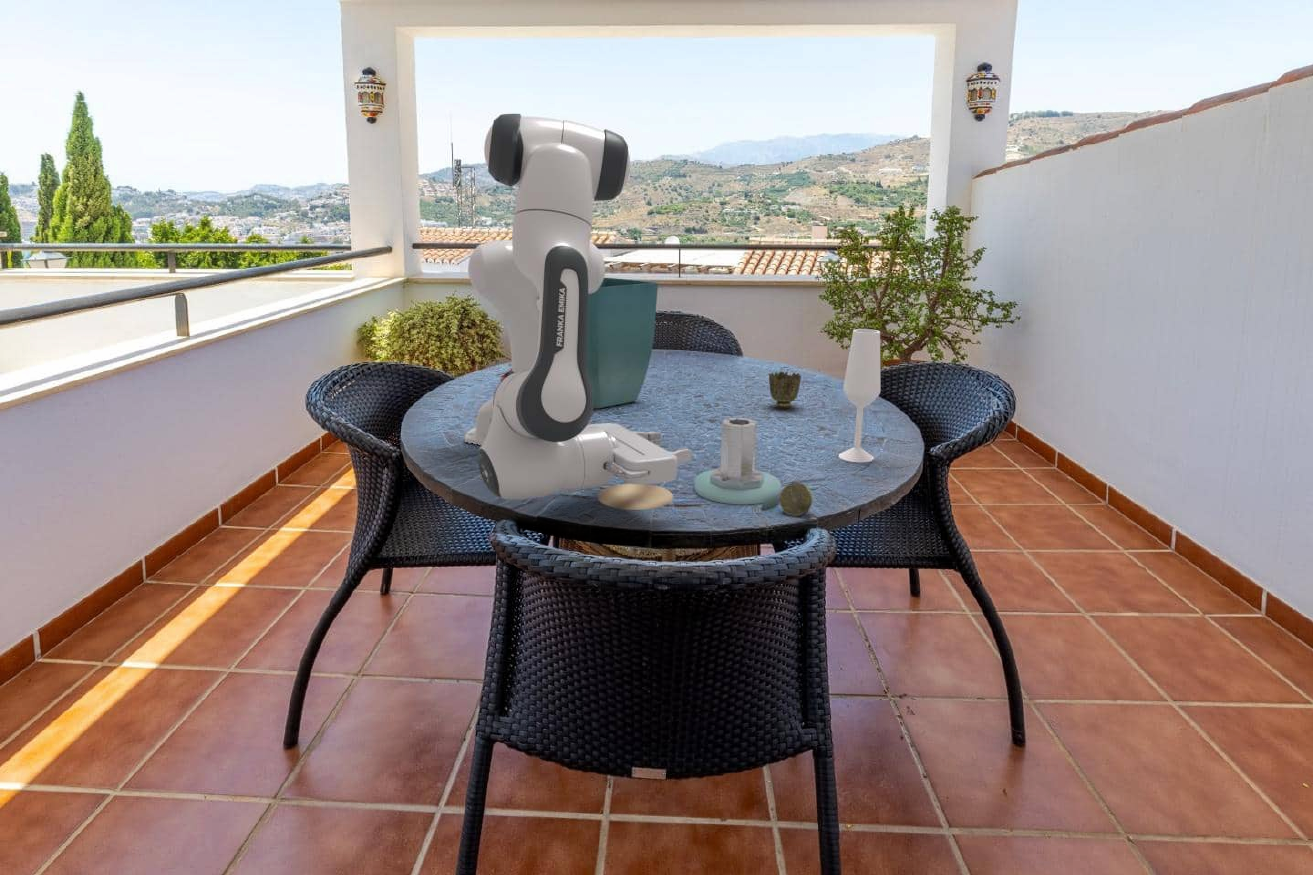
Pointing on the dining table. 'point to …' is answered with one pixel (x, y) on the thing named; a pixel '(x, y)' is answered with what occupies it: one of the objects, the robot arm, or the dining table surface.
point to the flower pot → (619, 339)
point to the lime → (796, 499)
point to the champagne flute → (862, 383)
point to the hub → (740, 491)
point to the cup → (784, 388)
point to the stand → (635, 496)
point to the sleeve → (738, 456)
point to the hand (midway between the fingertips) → (673, 445)
